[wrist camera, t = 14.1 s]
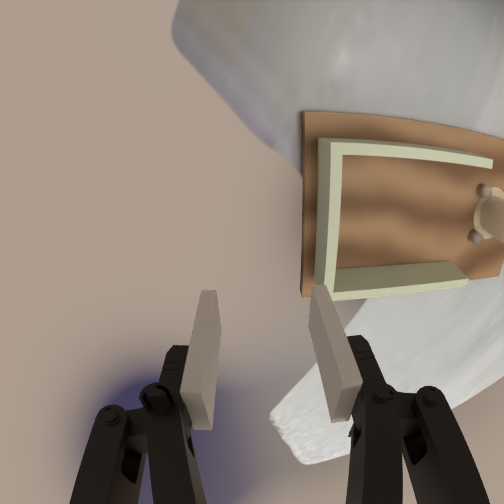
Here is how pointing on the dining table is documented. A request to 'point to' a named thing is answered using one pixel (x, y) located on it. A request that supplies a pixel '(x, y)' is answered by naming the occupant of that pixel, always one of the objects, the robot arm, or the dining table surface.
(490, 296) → the dining table surface
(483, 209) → the beige rounded cylinder
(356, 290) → the pale green open frame
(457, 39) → the dining table surface
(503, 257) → the board
